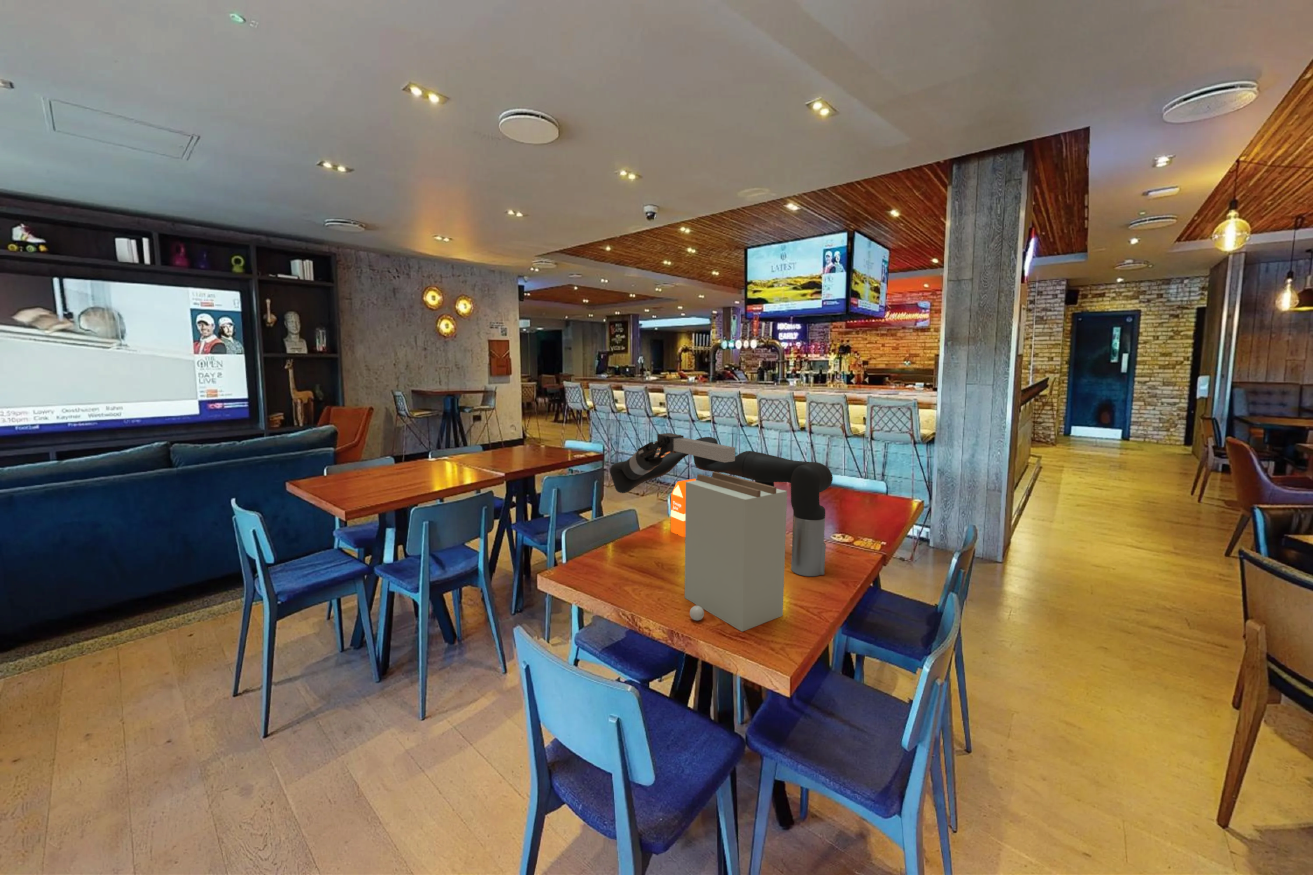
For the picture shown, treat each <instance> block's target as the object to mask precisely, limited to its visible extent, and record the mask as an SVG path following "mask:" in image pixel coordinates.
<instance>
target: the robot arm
mask: <svg viewBox="0 0 1313 875" xmlns="http://www.w3.org/2000/svg"><path fill="white" fill-rule="evenodd" d="M695 440H699V441H704V442H709V443H714V444H719V443H718V439H716V438H715V437H713V436H704V437H700V438H697V439H695ZM668 443H669V441H668V438H667V436H664V437H663V438H661V439H660V440H659V441H657V440H655V441H654V442H653V441H650V442H647V443H646V444H644V445H643V446H641V447H639V448H638V449H637V451H635V452H634V453H633V454H632V456H631V457H629V458H628V459H627V460H624V461H618V462H615V463H613V464H612V465H611V466H610V468H609V474H610V477H611V480H612V482H613V485H614V489H615V491H616V492H617V493H620V494H627V493H628V492H630V491H632V490H633V489H636V487H638V486H640V485H641V484H643V483H646V482H647V481H650V480H653V479H657V478H660V477H663V476H665V475H666V474H668V473H669V472H671V471H672V470H673V469H674V468H676V466H677V465H678V464H679V463H680V462H681V461H682V460H683V459H684V458H686V457H687V456H689V455H690V454H686V453H681V452H668V451H664V450H660V449H661V448H662V447H664V446H665V445H666V444H668ZM692 456H693V462H694V466H695V467H696V468H697V469H699V470H702V471H706V472H718V473H722V474H726V475H731V476H735V477H739V478H743V479H746V480H750V481H755V480H756V481H761V482H774V483H790V503H791V504H790V505H791V508H792V510H793V515H792V540H791V542H792V543H791V563H790V564H791V565H790V566H791V571H792V572H793V573H795V574H796V575H800V576H803V577H804V576H805V577H817V576H824V575H825V569H826V567H825V566H826V564H825V563H826V547H827V546H826V543H825V529H826V528H825V527H826V508H825V507H824V506H823V505H821V504H820V493H823V492H824V491H826V490H827V489H828V488H829V487H831V485H832V483H833V473H832V471H831V470H830V468H829V467H828V466H827V465H825V464H823V463H821V462H818V461H805V460H804V461H803V460H794V459H793V460H792V459H788V458H785V457H781V456H777V455H773V454H767V453H763V452H758V451H752V450H746V451H742V452H740V453H739V454H737V455H735V461H732V462H720V461H716V460H712V459H707V458H703V457H699V456H694V455H692Z"/></svg>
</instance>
